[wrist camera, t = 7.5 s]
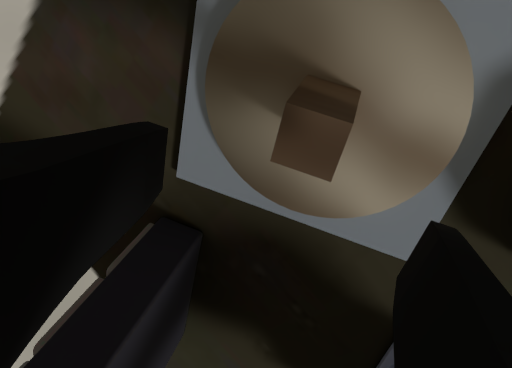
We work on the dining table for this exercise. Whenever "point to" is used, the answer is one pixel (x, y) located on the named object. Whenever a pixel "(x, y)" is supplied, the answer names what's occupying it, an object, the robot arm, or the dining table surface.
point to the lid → (339, 100)
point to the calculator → (129, 306)
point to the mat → (396, 218)
